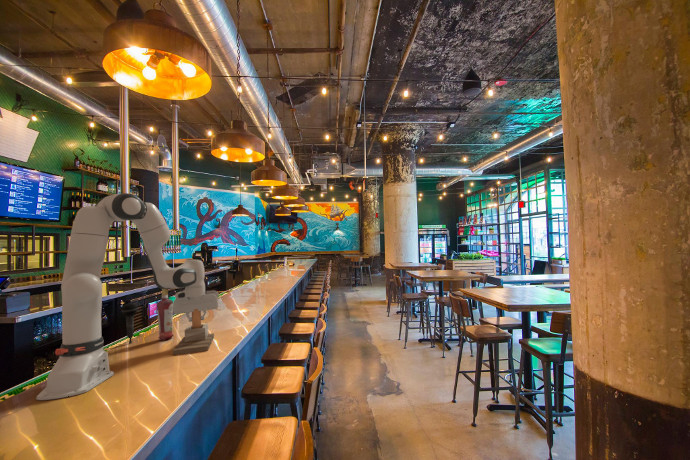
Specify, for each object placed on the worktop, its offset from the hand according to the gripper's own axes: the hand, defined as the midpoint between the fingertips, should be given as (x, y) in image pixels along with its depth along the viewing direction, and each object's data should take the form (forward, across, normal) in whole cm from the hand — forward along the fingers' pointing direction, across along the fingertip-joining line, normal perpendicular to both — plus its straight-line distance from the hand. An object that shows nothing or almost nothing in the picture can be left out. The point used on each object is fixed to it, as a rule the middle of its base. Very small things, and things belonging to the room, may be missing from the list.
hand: (196, 320), depth 155 cm
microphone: (+11, +31, -18) cm, 37 cm away
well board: (+10, +1, +5) cm, 12 cm away
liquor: (+11, +15, -16) cm, 25 cm away
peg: (+6, 0, 0) cm, 6 cm away
